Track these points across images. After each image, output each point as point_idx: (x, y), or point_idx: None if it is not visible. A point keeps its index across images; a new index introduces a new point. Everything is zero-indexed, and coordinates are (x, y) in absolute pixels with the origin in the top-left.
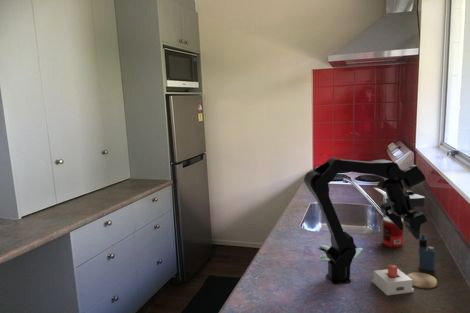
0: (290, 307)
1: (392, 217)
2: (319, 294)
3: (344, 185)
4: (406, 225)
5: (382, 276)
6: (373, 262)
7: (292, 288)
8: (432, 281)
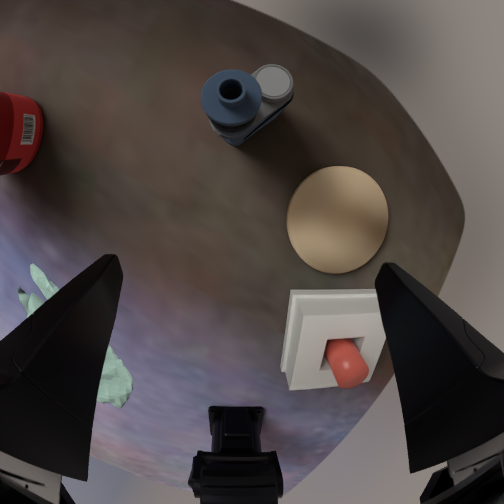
0: (306, 474)
1: (75, 441)
2: (288, 452)
3: None
4: (436, 471)
5: (333, 381)
6: (141, 295)
7: None
8: (371, 198)
